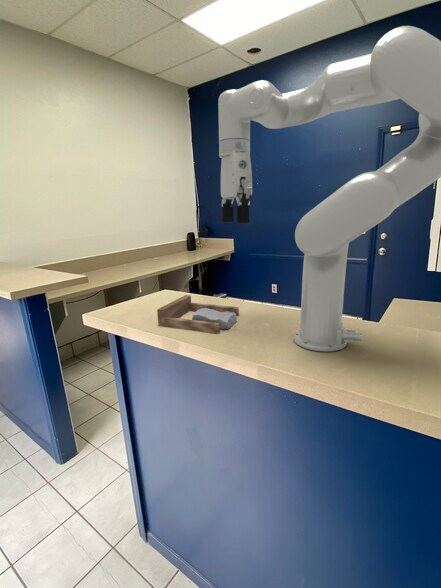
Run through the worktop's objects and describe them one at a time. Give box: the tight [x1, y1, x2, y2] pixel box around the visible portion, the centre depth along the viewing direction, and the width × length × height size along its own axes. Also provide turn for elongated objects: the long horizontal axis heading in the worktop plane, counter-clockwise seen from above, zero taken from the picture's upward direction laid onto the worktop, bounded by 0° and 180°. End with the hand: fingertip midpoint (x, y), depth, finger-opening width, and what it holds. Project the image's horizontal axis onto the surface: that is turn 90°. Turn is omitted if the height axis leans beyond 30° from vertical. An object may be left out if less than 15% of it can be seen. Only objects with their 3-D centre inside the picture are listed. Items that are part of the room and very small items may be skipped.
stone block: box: [191, 308, 238, 331], centre depth 92 cm, size 12×5×10 cm
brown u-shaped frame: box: [156, 294, 240, 334], centre depth 94 cm, size 19×17×5 cm
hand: (234, 222), depth 80 cm, fingers open, 9 cm apart
